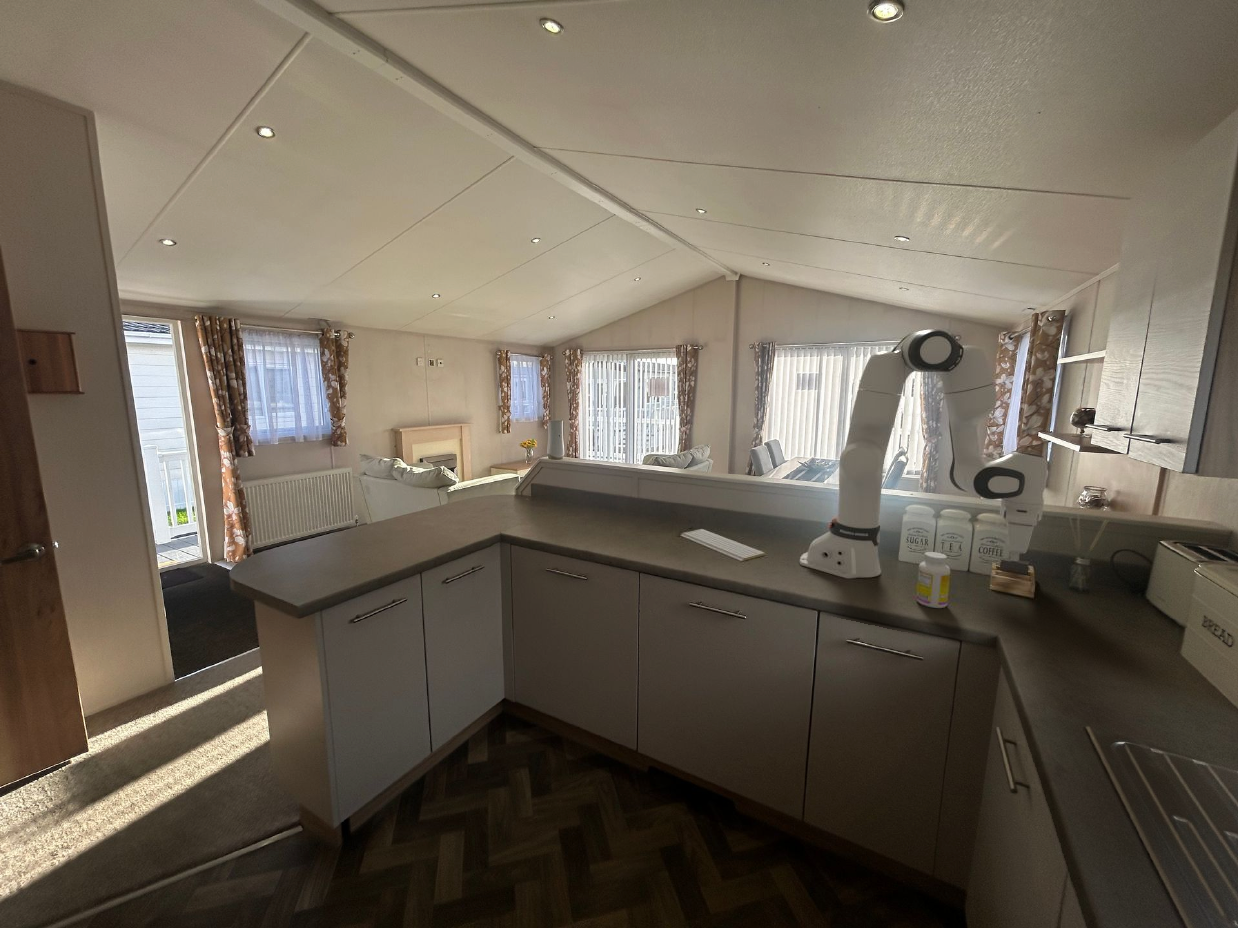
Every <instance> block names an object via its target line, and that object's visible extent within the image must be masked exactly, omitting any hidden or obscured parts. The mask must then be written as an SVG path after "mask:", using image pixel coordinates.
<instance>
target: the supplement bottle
mask: <svg viewBox="0 0 1238 928" xmlns="http://www.w3.org/2000/svg"><path fill="white" fill-rule="evenodd" d="M923 558H924V561H921V563H919V565H918V575H917V585H916V595H915V596H916V597H915V599H916V601H917V602H918V603H919V604H920V605H923V606H924V607H928V608H934V609H942V608H943V609H944V608H946V607H947V606H948V598H949V591H950V580H951V579H950V578H951V569H950V567H949V566H948V565H946V563H947V561H948V556H947V555H946V554H944V553H942V552H936V551H926V552H924V556H923Z"/></svg>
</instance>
